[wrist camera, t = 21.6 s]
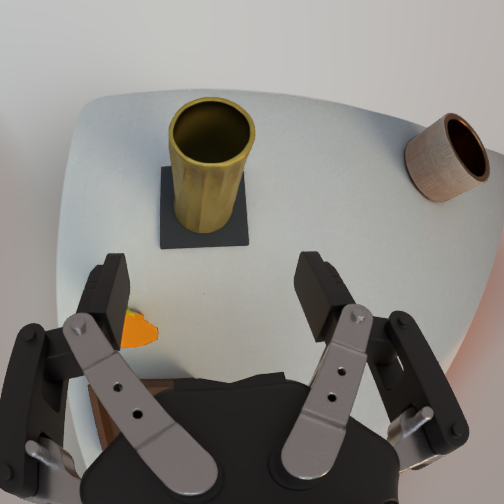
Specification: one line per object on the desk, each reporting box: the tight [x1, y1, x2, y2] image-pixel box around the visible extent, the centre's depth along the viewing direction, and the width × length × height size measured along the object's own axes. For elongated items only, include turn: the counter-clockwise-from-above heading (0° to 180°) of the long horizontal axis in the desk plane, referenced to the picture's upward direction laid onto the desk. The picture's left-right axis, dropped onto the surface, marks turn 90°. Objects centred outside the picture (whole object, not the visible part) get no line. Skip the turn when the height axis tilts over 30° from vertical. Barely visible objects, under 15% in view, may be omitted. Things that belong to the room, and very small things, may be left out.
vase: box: [169, 97, 255, 233], centre depth 23 cm, size 6×6×14 cm
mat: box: [160, 166, 249, 249], centre depth 30 cm, size 9×9×1 cm
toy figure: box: [120, 306, 158, 348], centre depth 21 cm, size 7×4×12 cm, turn 88°
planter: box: [405, 113, 490, 202], centre depth 33 cm, size 11×11×10 cm
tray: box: [88, 378, 195, 451], centre depth 24 cm, size 11×11×3 cm
